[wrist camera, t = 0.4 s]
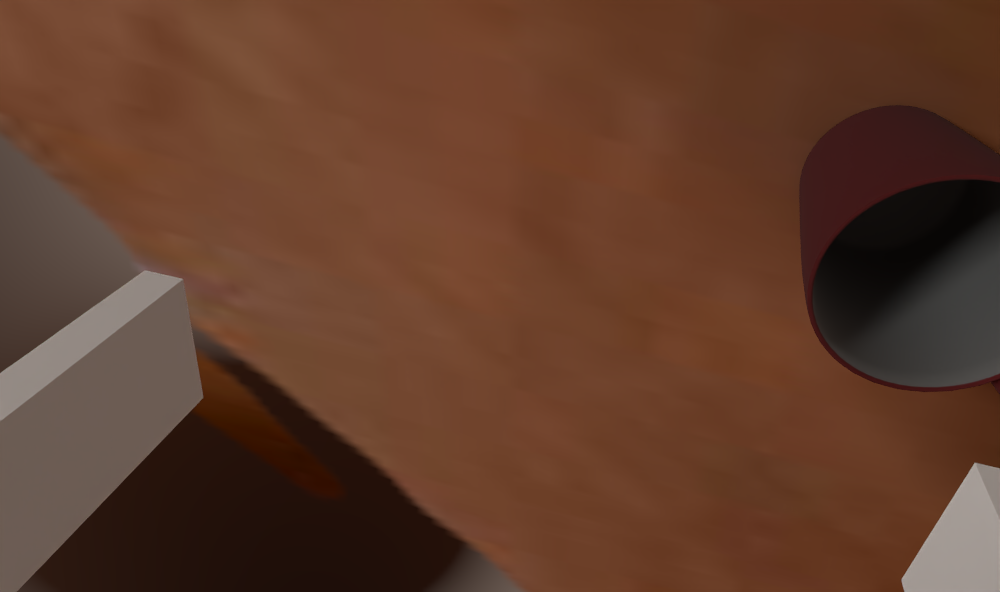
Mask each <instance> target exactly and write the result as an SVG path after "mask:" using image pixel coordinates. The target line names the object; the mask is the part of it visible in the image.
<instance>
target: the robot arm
mask: <svg viewBox="0 0 1000 592" xmlns="http://www.w3.org/2000/svg"><path fill="white" fill-rule="evenodd" d="M202 398H203V393H202V387H201V381H200V376H199V370H198V364H197V358H196V352H195V346H194V340H193V334H192V328H191V323H190V317H189V311H188V305H187V299H186V293H185V287H184V281H183V279H180V278H176V277H172V276H168V275H163V274H159V273H155V272H150V271H146V270H145V271H143V272H142V273H141V274H139V275H138V276H136V277H135V278H134V279H132V280H131V281H129V282H128V283H127V284H125V285H124V286H122V287H121V288H119V289H118V290H117V291H115V292H114V293H112V294H111V295H110V296H108V297H107V298H106V299H104V300H103V301H101V302H100V303H98V304H97V305H96V306H94V307H93V308H91V309H90V310H89V311H87V312H86V313H84V314H83V315H82V316H80V317H79V318H77V319H76V320H74V321H73V322H72V323H70V324H69V325H67V326H66V327H65V328H63V329H62V330H60V331H59V332H58V333H56V334H55V335H53V336H52V337H51V338H49V339H48V340H46V341H45V342H44V343H42V344H41V345H39V346H38V347H36V348H35V349H34V350H32V351H31V352H30V353H28V354H27V355H25V356H24V357H22V358H21V359H20V360H18V361H17V362H15V363H14V364H13V365H11V366H10V367H8V368H7V369H6V370H4V371H3V372H1V373H0V592H17V591H18V590H19V589H20V588H21V587H22V586H23V584H24V583H25V582H26V581H27V580H28V579H29V578H30V577H31V576H32V575H33V574H34V573H35V572H36V571H37V570H38V569H39V568H40V567H41V566H42V565H43V564H44V563H45V562H46V561H47V559H48V558H49V557H50V556H51V555H52V554H53V553H54V552H55V551H56V550H57V549H58V548H59V547H60V546H61V545H62V544H63V543H64V542H65V541H66V540H67V539H68V538H69V537H70V536H71V535H72V534H73V532H74V531H75V530H76V529H77V528H78V527H79V526H80V525H81V524H82V523H83V522H84V521H85V520H86V519H87V518H88V517H89V516H90V515H91V514H92V513H93V512H94V510H96V509H97V507H98V506H99V505H100V504H101V503H102V502H103V501H104V500H105V499H106V498H107V497H108V496H109V495H110V494H111V493H112V492H113V491H114V490H115V489H116V488H117V487H118V486H119V485H120V484H121V483H122V482H123V480H124V479H125V478H126V477H127V476H128V475H129V474H130V473H131V472H132V471H133V470H134V469H135V468H136V467H137V466H138V465H139V464H140V463H141V462H142V461H143V460H144V459H145V458H146V457H147V455H148V454H149V453H150V452H151V451H152V450H153V449H154V448H155V447H156V446H157V445H158V444H159V443H160V442H161V441H162V440H163V439H164V438H165V437H166V436H167V434H169V433H170V432H171V431H172V430H173V428H174V427H175V426H176V425H177V424H178V423H179V422H180V421H181V420H182V419H183V418H184V417H185V416H186V415H187V414H188V413H189V412H190V411H191V410H192V409H193V408H194V407H195V406H196V405H197V403H198V402H199V401H200V400H201V399H202ZM902 584H903V588H904V592H1000V468H996V467H991V466H987V465H983V464H978V463H974V465H973V467H972V468H971V470H970V471H969V473H968V474H967V476H966V478H965V479H964V481H963V482H962V484H961V486H960V487H959V489H958V490H957V492H956V494H955V495H954V497H953V498H952V500H951V502H950V503H949V505H948V506H947V508H946V510H945V511H944V513H943V514H942V516H941V517H940V519H939V521H938V522H937V524H936V525H935V527H934V529H933V530H932V532H931V533H930V535H929V537H928V538H927V540H926V541H925V543H924V545H923V546H922V548H921V549H920V551H919V552H918V554H917V556H916V557H915V559H914V560H913V562H912V564H911V565H910V567H909V568H908V570H907V572H906V573H905V575H904V576H903V578H902Z"/></svg>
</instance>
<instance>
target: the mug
mask: <svg viewBox="0 0 1000 592" xmlns="http://www.w3.org/2000/svg"><path fill="white" fill-rule="evenodd" d="M800 239H801V261H802V275H803V282H804V290H805V298H806V304H807V309H808V313H809V317H810V321H811V324H812V326H813V329H814V331H815V333H816V335H817V337H818V339H819V341H820V342H821V344H822V345H823V346H824V347H825V349H826V350H827V351H828V352H829V353H830V354H831V356H832V357H833V358H834V359H835V360H837V361H838V362H839V363H840V364H842V365H843V366H844V367H846V368H847V369H849V370H850V371H851V372H853V373H855V374H857V375H859V376H861V377H863V378H865V379H867V380H870V381H872V382H874V383H878V384H881V385H884V386H888V387H892V388H896V389H902V390H910V391H920V392H937V391H953V390H959V389H964V388H970V387H975V386H980V385H983V384H986V383H989V382H991V383H992V385H993V386H994V387H995V389H996V390H997V391H998V393H999V394H1000V155H999V154H997V153H996V152H994V151H993V150H991V149H990V148H988V147H987V146H985V145H984V144H982V143H981V142H979V141H978V140H976V139H975V138H973V137H972V136H970V135H969V134H967V133H966V132H964V131H963V130H961V129H960V128H958V127H957V126H955V125H954V124H952V123H950V122H949V121H947V120H946V119H944V118H942V117H940V116H938V115H937V114H935V113H933V112H930V111H928V110H925V109H921V108H917V107H911V106H901V105H896V106H883V107H877V108H873V109H869V110H866V111H863V112H860V113H858V114H855V115H853V116H851V117H849V118H847V119H845V120H843V121H842V122H840V123H839V124H837V125H836V126H834V127H833V128H832V129H830V130H829V131H828V132H827V133H826V134H825V135H824V136H823V137H822V138H821V139H820V140H819V141H818V142H817V144H816V145H815V146H814V148H813V149H812V151H811V152H810V154H809V156H808V158H807V160H806V162H805V164H804V167H803V170H802V174H801V178H800Z"/></svg>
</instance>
